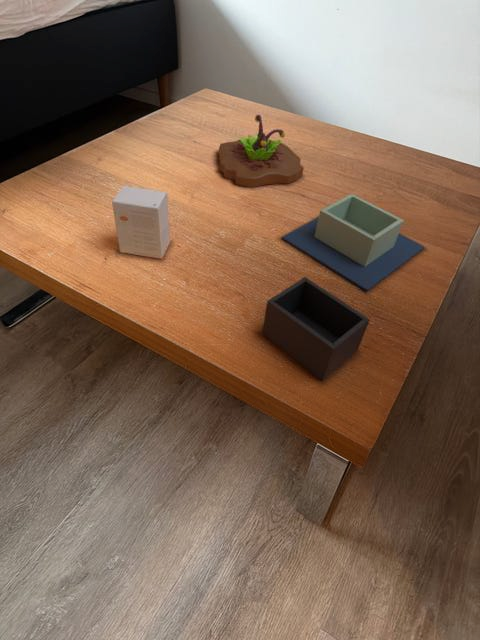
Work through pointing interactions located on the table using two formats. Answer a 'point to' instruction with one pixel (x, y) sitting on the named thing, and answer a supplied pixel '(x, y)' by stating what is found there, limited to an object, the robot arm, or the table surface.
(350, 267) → the mat
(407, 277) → the table surface
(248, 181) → the plant
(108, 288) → the table surface
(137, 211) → the small box
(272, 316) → the bin lower
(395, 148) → the table surface
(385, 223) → the green open bin
